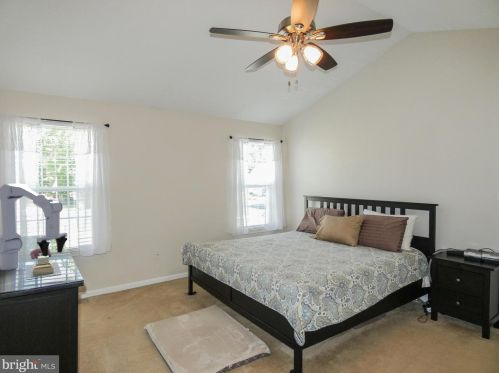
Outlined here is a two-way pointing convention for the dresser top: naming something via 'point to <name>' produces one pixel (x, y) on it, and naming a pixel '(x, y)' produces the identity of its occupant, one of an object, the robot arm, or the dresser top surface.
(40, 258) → the sage block
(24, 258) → the dresser top surface
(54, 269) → the blueprint board
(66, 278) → the dresser top surface
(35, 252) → the video game controller
